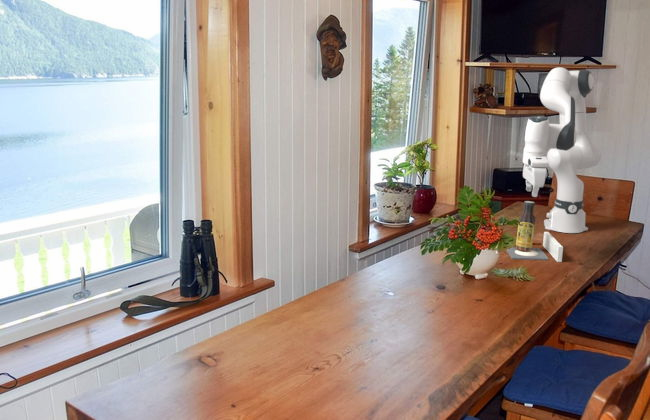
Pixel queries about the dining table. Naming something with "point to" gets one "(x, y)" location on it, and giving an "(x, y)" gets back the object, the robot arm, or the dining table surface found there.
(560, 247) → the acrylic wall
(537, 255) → the mat
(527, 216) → the sauce bottle
